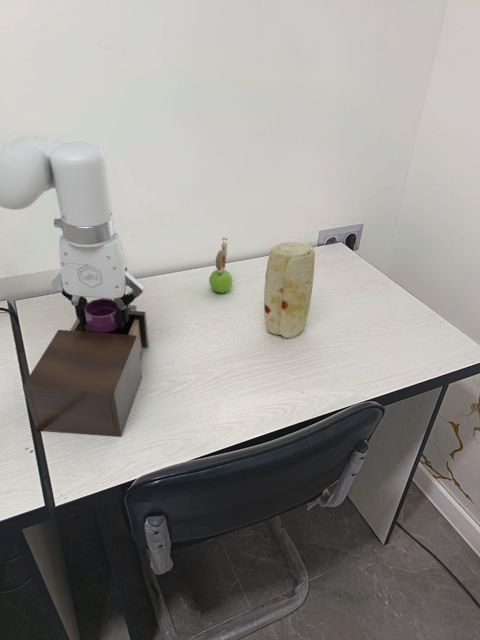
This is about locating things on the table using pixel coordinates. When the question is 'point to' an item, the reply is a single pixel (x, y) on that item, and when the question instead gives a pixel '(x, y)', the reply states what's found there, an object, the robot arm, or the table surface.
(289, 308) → the food model
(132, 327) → the drawer
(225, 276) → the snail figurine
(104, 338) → the dark wooden cabinet
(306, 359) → the table surface
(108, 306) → the bowl
